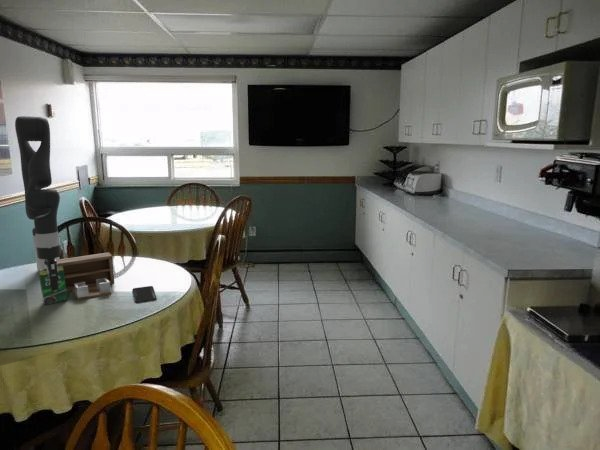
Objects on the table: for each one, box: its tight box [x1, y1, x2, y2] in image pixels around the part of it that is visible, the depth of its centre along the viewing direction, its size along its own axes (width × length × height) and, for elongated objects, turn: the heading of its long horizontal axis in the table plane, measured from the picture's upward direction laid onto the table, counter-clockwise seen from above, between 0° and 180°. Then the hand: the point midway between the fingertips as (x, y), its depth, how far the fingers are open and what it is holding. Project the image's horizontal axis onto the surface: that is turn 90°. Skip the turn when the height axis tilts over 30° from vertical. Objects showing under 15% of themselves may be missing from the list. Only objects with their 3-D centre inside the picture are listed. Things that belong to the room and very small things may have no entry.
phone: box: [132, 285, 157, 304], centre depth 168 cm, size 8×1×15 cm
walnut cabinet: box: [56, 251, 115, 301], centre depth 172 cm, size 18×20×12 cm
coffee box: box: [37, 266, 68, 306], centre depth 160 cm, size 8×3×13 cm, turn 126°
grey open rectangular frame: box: [74, 278, 112, 298], centre depth 168 cm, size 6×12×4 cm, turn 126°
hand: (53, 286), depth 160 cm, fingers open, 8 cm apart
